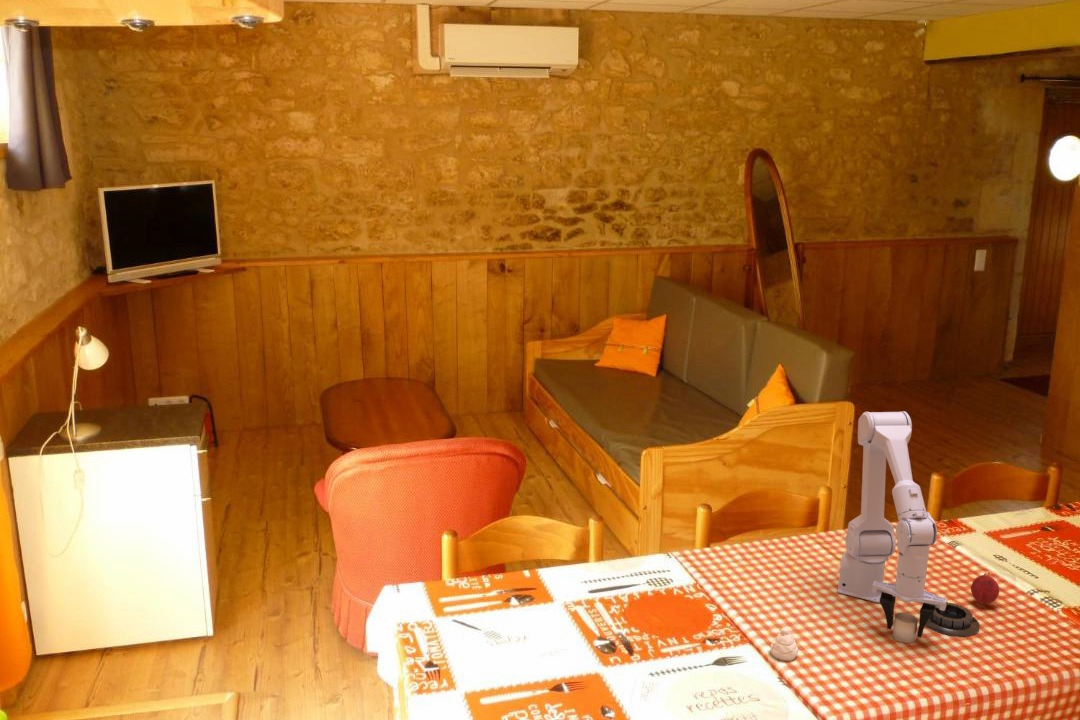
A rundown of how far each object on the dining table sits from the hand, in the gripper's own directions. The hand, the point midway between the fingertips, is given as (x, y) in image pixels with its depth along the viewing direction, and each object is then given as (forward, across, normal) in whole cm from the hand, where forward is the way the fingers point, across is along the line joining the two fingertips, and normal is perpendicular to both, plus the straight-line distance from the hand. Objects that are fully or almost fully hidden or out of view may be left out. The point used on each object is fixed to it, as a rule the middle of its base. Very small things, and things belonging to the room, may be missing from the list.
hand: (904, 631), depth 202 cm
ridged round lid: (+1, +7, +12) cm, 14 cm away
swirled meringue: (+2, -19, -21) cm, 29 cm away
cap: (+2, 0, 0) cm, 2 cm away
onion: (+2, +12, +25) cm, 28 cm away
